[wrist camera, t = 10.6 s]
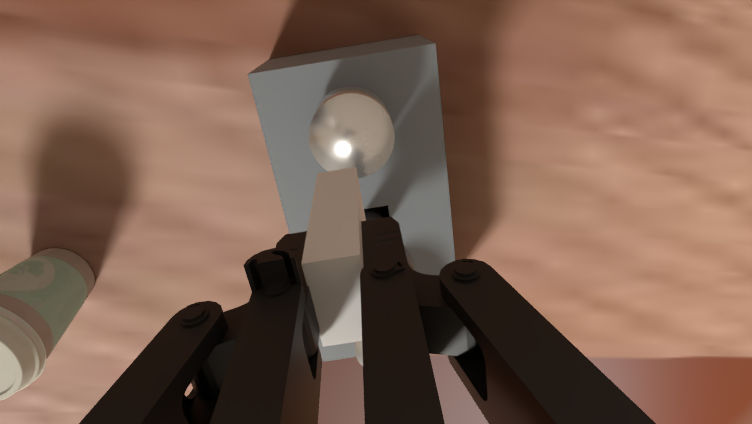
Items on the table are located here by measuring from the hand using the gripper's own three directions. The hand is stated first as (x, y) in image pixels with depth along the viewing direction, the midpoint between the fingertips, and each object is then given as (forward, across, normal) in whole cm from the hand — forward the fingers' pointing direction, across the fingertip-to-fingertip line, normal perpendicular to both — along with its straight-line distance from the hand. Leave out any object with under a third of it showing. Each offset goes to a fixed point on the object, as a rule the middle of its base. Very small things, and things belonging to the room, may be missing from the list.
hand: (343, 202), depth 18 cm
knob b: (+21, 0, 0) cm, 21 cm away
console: (+22, 0, -8) cm, 23 cm away
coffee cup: (+22, -30, -12) cm, 39 cm away
